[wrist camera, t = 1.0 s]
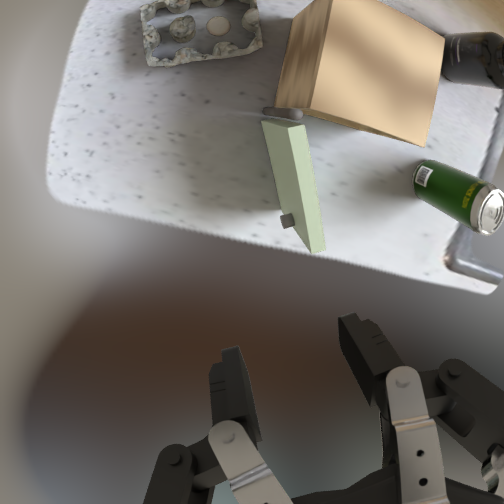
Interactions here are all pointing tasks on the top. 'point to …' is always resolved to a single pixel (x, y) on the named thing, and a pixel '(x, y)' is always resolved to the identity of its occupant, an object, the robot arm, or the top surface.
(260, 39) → the egg carton
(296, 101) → the cupboard
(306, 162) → the door
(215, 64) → the top surface
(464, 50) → the supplement bottle
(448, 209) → the beer can
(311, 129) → the top surface
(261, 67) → the top surface
